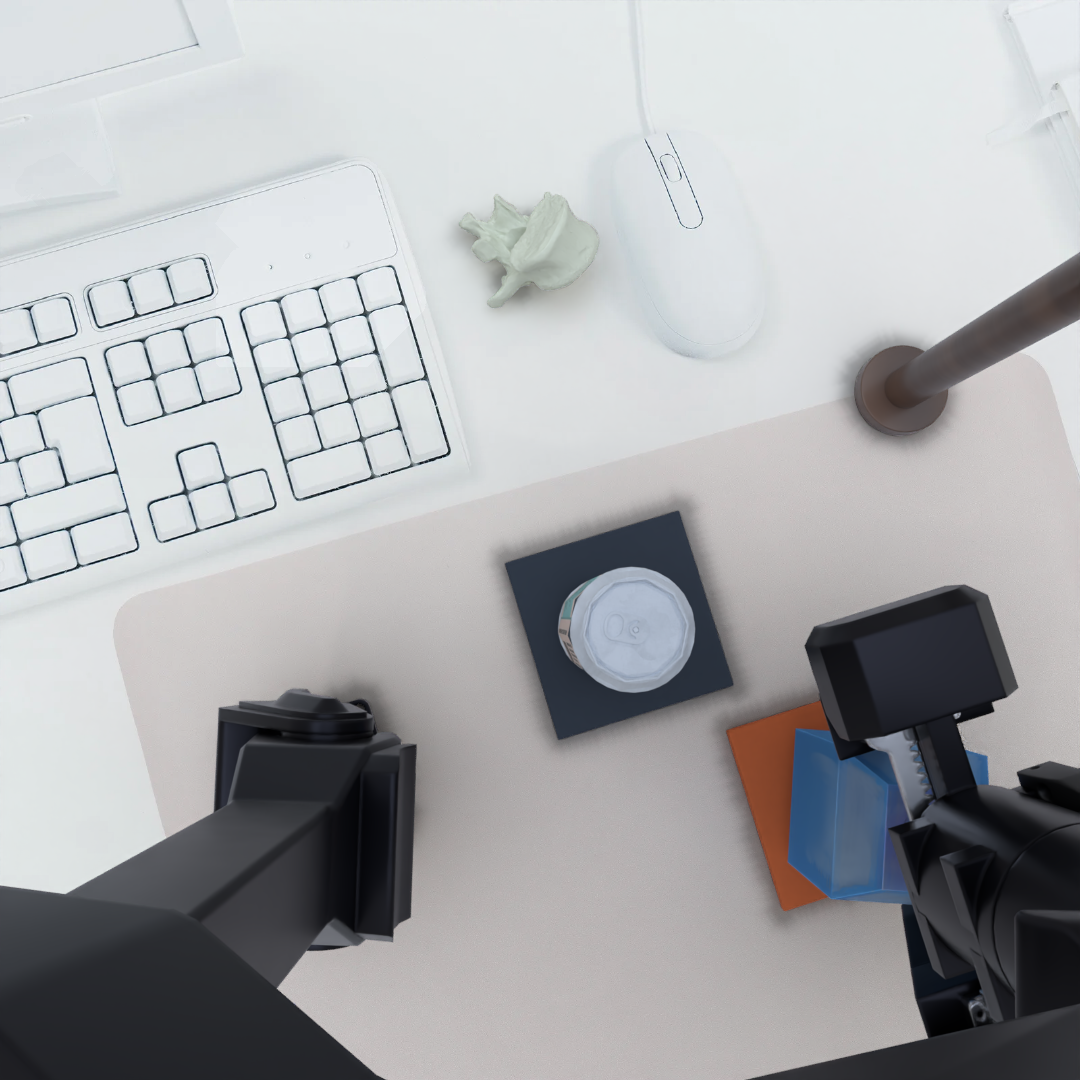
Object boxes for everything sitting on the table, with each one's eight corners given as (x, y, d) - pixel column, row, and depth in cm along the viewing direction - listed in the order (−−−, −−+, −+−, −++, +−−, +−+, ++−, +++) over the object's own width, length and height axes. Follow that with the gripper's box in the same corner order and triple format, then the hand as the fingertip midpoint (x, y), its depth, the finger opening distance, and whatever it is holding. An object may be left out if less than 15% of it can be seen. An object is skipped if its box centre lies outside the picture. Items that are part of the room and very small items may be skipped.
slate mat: (557, 739, 50) (558, 740, 50) (504, 563, 51) (504, 562, 50) (732, 684, 50) (734, 685, 50) (677, 511, 51) (679, 510, 51)
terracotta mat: (781, 909, 50) (784, 912, 49) (725, 730, 50) (727, 731, 50) (955, 852, 50) (959, 855, 50) (897, 675, 51) (901, 676, 50)
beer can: (644, 684, 50) (686, 706, 38) (548, 664, 50) (560, 680, 38) (663, 588, 50) (710, 579, 38) (568, 568, 50) (585, 553, 38)
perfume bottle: (924, 737, 48) (1065, 778, 36) (918, 871, 48) (1058, 956, 36) (795, 728, 48) (895, 766, 36) (787, 862, 48) (885, 945, 36)
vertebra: (423, 274, 50) (472, 314, 53) (522, 288, 46) (570, 332, 48) (481, 159, 51) (526, 206, 54) (584, 162, 46) (627, 212, 49)
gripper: (1477, 1170, 28) (1131, 972, 44) (1250, 520, 29) (991, 553, 45) (1100, 1303, 27) (885, 1054, 43) (883, 635, 29) (750, 628, 44)
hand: (885, 816), depth 44 cm, fingers closed on perfume bottle, 7 cm apart
